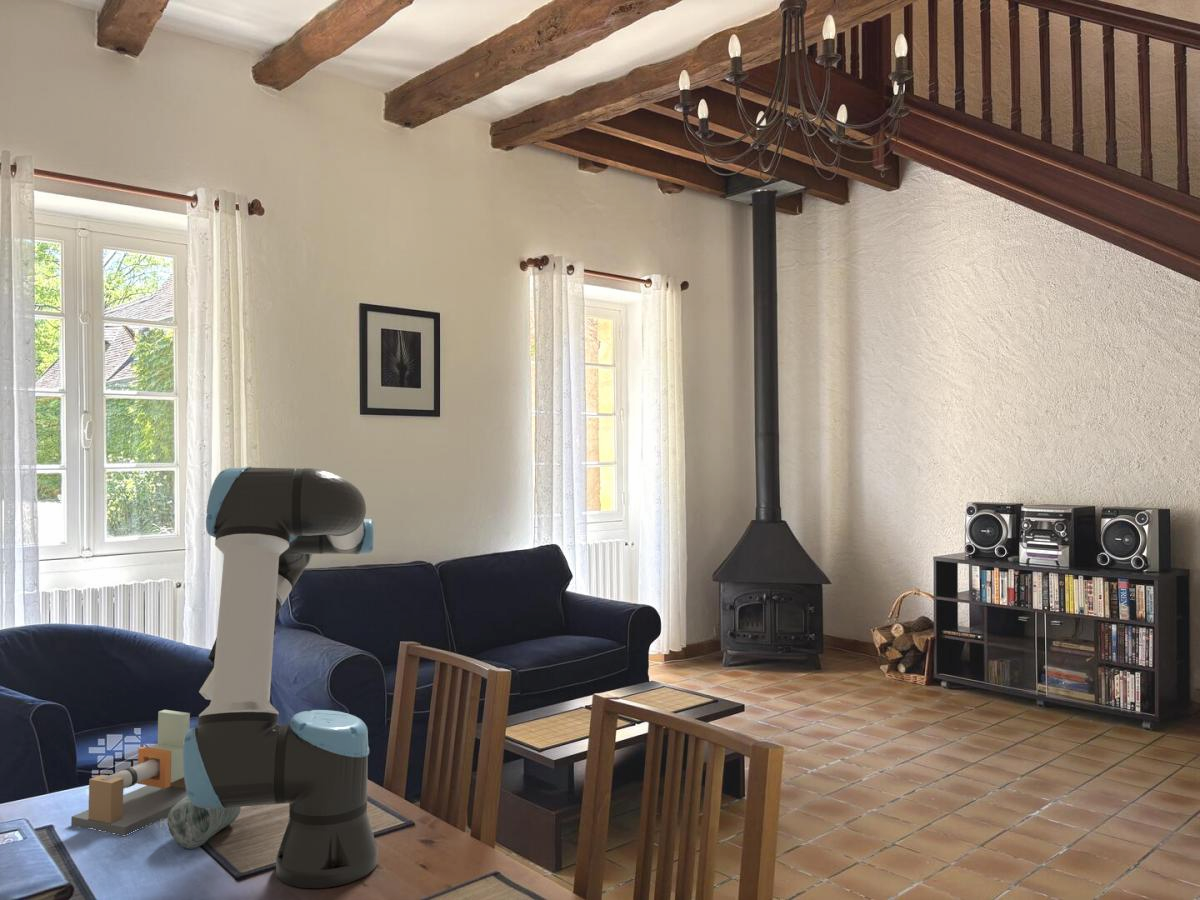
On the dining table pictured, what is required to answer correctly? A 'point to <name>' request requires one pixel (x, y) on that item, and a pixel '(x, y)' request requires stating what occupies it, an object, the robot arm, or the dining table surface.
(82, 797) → the dining table surface
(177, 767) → the sleeve
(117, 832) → the rig
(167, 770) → the ring
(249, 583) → the robot arm
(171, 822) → the grey rounded lump
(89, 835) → the dining table surface
